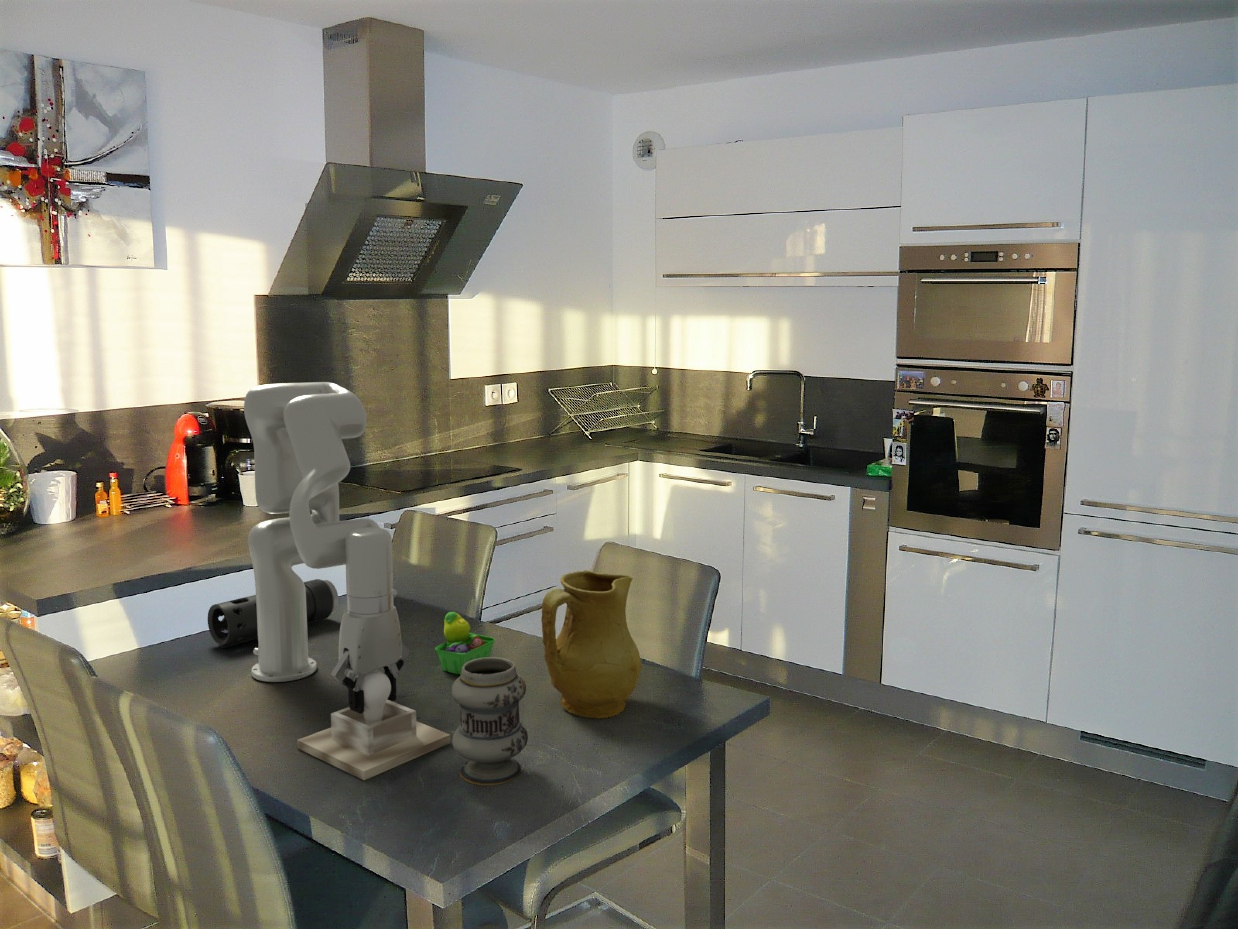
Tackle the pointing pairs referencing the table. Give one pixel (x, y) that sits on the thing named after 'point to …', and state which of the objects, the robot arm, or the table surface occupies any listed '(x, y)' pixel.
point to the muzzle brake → (244, 613)
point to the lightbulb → (375, 695)
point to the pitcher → (591, 644)
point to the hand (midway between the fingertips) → (373, 704)
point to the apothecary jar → (489, 720)
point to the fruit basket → (461, 644)
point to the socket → (373, 741)
